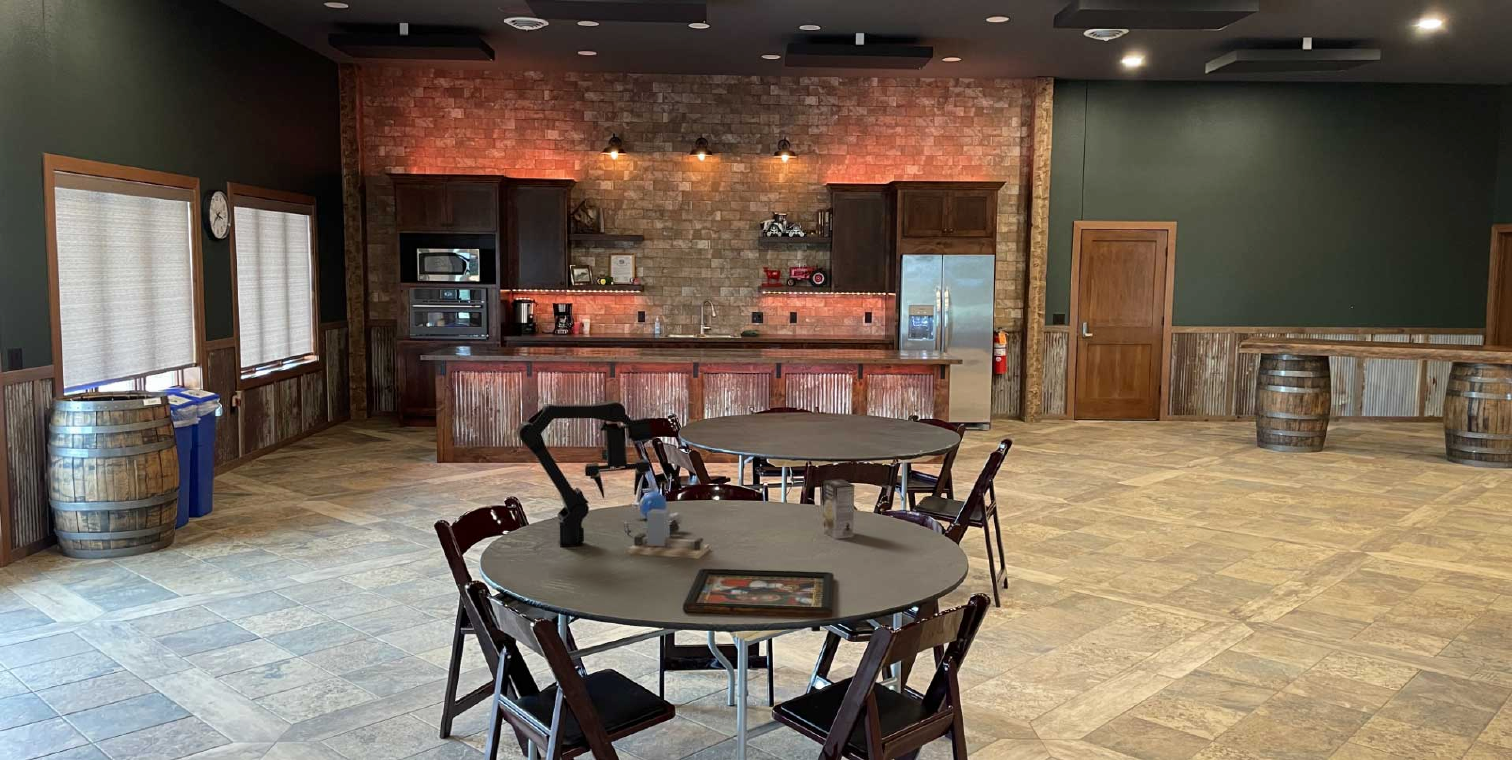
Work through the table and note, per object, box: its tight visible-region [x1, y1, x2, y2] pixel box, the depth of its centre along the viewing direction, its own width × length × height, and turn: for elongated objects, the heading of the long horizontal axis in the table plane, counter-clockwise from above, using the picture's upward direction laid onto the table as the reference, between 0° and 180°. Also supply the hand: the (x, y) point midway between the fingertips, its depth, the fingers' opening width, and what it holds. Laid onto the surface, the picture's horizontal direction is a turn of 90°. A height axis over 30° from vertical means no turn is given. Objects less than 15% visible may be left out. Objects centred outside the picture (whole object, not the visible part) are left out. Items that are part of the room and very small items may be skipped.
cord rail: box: [628, 533, 710, 560], centre depth 299 cm, size 20×11×4 cm, turn 75°
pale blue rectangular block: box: [646, 509, 671, 546], centre depth 299 cm, size 5×5×9 cm
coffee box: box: [822, 478, 855, 540], centre depth 318 cm, size 9×6×16 cm
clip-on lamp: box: [623, 512, 683, 534], centre depth 320 cm, size 12×6×18 cm
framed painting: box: [682, 568, 835, 618], centre depth 260 cm, size 38×35×3 cm
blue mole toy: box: [628, 491, 667, 518], centre depth 338 cm, size 12×12×8 cm
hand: (619, 496), depth 311 cm, fingers open, 9 cm apart
